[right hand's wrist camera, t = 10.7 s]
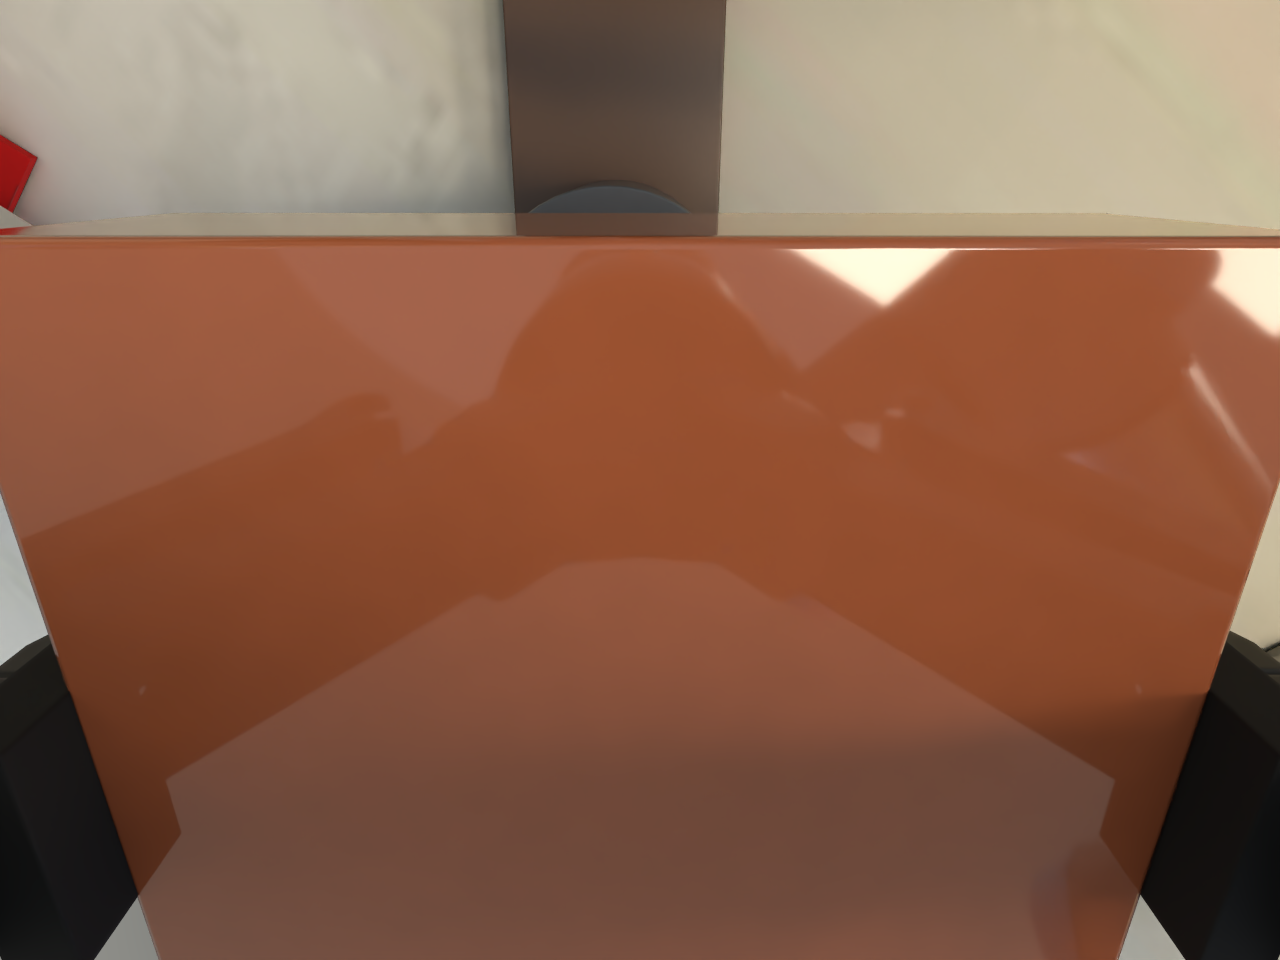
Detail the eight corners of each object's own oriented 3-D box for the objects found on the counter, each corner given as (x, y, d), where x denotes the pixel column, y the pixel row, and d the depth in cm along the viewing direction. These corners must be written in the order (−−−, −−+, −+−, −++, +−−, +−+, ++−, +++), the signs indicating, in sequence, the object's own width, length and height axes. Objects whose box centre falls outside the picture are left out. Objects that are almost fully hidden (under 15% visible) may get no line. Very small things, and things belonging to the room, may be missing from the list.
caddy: (485, -409, 27) (357, -892, 15) (737, -408, 27) (822, -889, 15) (530, 402, 39) (479, 515, 26) (708, 402, 39) (742, 514, 26)
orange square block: (236, 206, 10) (-95, 236, 6) (1040, 206, 10) (1368, 236, 6) (350, 818, 15) (211, 1129, 10) (927, 818, 15) (1064, 1129, 10)
